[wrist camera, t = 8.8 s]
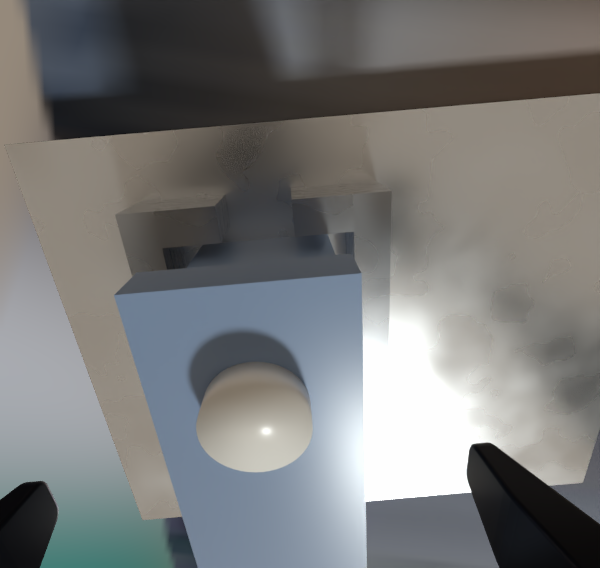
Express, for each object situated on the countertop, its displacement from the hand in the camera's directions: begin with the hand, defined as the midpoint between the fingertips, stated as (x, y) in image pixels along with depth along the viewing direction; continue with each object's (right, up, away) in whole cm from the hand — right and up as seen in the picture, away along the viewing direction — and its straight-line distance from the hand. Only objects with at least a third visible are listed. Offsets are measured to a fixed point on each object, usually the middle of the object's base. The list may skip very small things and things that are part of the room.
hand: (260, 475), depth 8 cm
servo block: (0, +2, +5) cm, 6 cm away
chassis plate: (+3, +2, +7) cm, 8 cm away
